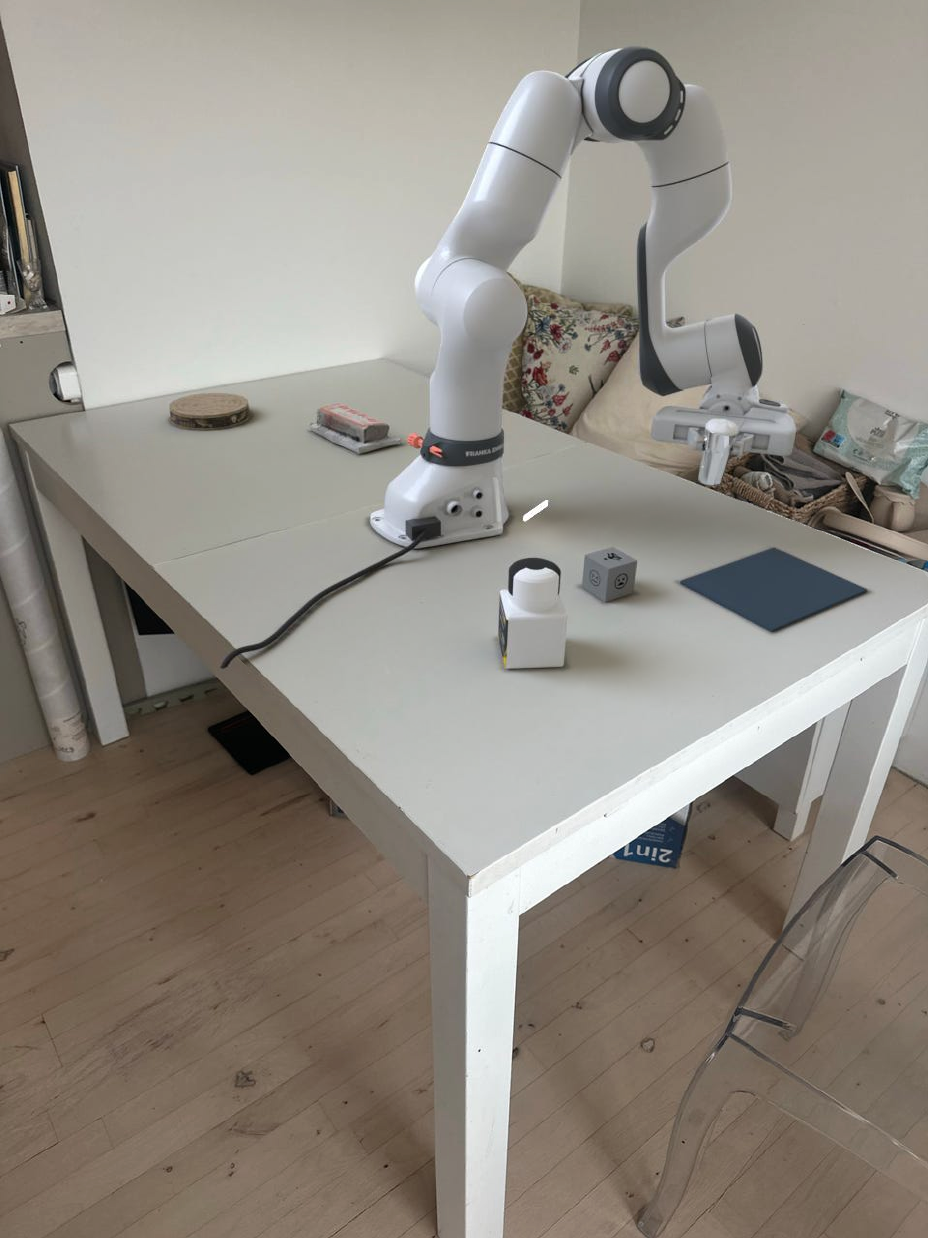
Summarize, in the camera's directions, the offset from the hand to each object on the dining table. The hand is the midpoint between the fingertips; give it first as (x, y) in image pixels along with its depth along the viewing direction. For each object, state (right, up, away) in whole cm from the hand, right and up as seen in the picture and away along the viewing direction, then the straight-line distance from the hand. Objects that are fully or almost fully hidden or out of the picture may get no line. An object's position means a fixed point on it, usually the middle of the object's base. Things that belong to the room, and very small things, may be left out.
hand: (717, 447), depth 127 cm
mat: (+8, -20, 0) cm, 21 cm away
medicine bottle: (-27, -28, -16) cm, 43 cm away
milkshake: (0, -4, +4) cm, 6 cm away
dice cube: (-16, -20, -2) cm, 26 cm away
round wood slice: (-88, +18, +62) cm, 109 cm away
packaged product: (-57, +12, +52) cm, 78 cm away
